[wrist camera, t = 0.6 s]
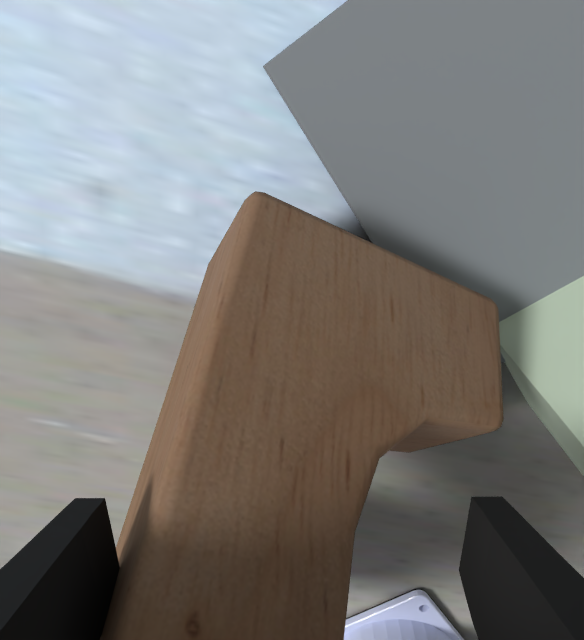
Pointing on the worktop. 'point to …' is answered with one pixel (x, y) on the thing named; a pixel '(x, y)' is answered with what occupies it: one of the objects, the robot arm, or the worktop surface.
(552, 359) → the sage block
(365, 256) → the wooden block
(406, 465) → the worktop surface
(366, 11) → the mat
